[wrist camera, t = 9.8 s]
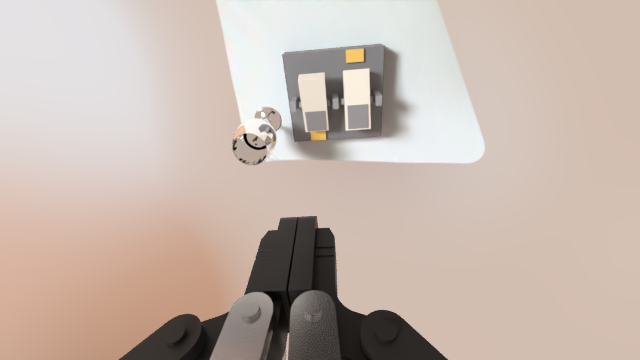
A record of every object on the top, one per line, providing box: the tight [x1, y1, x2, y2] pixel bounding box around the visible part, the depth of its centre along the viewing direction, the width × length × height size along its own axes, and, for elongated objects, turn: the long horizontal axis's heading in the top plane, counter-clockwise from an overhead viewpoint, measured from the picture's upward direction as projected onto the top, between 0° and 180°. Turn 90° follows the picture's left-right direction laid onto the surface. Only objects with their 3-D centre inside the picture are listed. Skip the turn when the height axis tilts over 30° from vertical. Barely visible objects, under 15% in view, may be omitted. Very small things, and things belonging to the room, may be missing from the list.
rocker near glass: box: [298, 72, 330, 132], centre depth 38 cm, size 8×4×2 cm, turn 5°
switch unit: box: [282, 44, 384, 142], centre depth 40 cm, size 13×14×6 cm
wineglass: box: [232, 107, 281, 165], centre depth 40 cm, size 6×6×12 cm
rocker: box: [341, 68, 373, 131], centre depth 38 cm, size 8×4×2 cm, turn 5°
